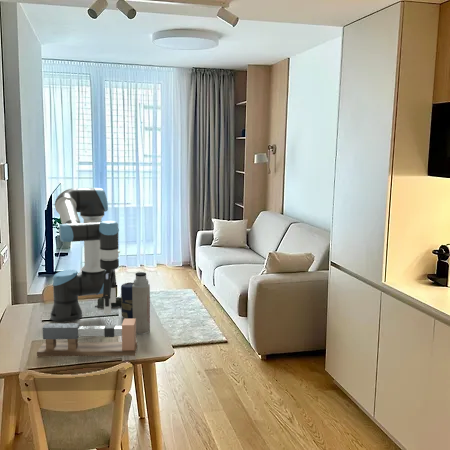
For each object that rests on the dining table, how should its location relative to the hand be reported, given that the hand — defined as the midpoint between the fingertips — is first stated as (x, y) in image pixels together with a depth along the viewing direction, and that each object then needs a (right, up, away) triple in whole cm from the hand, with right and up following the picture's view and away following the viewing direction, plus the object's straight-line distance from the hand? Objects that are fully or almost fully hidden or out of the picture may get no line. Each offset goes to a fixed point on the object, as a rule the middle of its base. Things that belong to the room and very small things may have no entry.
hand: (110, 307), depth 215 cm
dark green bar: (-14, -9, +60) cm, 63 cm away
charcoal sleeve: (-20, -12, 0) cm, 24 cm away
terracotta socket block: (+7, -17, +3) cm, 19 cm away
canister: (0, -12, +45) cm, 46 cm away
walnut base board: (-10, -19, +2) cm, 21 cm away
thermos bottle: (+9, -15, +26) cm, 32 cm away
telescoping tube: (-6, -12, +1) cm, 13 cm away
